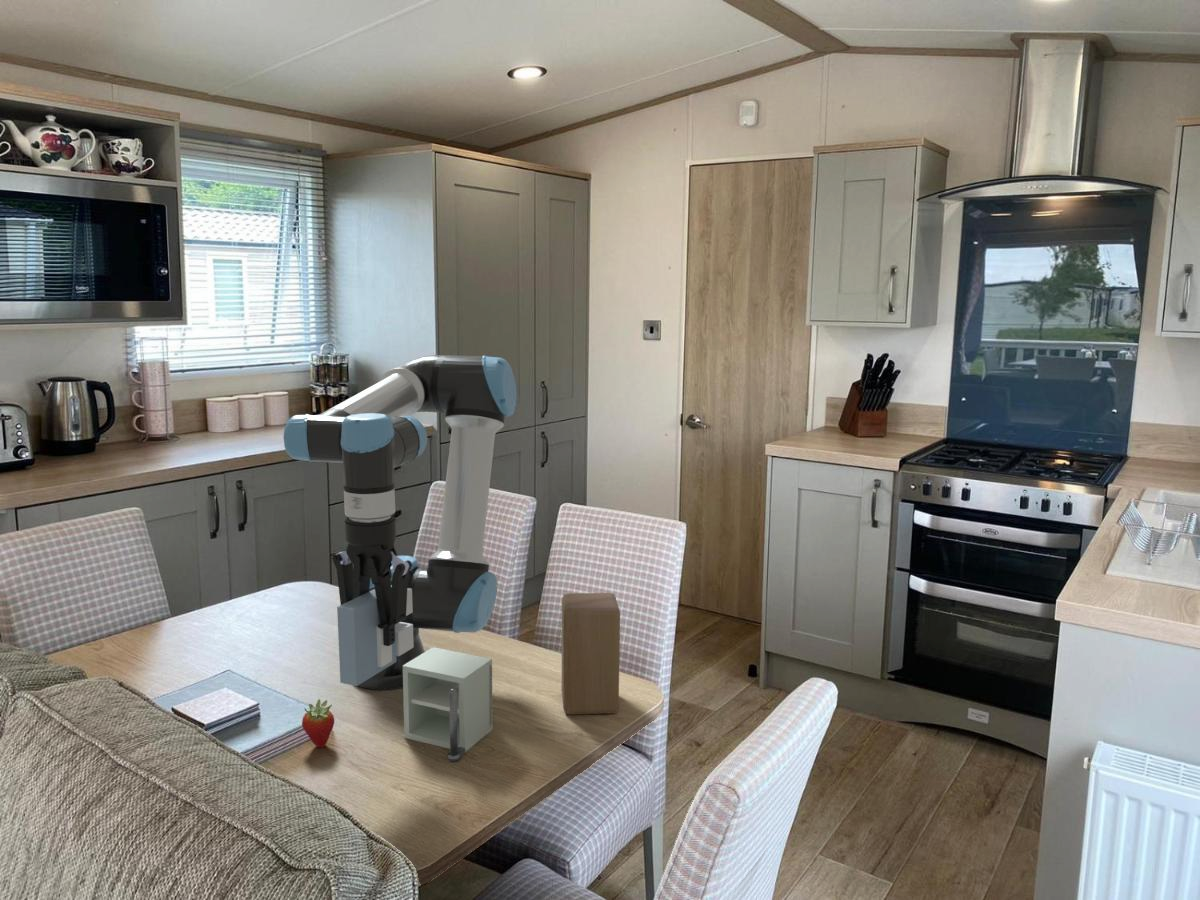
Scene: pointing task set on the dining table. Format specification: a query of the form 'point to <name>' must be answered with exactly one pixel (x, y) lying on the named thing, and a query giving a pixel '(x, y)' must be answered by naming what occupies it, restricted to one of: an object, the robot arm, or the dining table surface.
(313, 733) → the fruit
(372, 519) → the robot arm
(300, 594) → the dining table surface
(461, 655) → the cabinet
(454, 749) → the hinge pin
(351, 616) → the door
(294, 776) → the dining table surface
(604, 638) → the wooden block
